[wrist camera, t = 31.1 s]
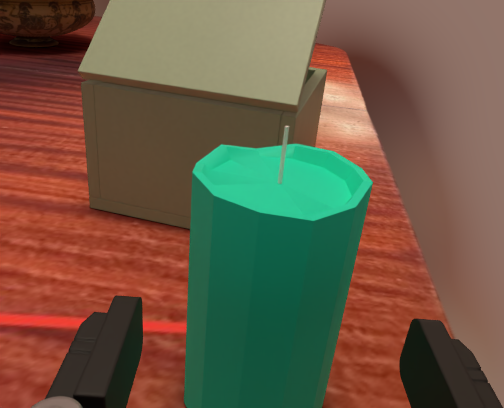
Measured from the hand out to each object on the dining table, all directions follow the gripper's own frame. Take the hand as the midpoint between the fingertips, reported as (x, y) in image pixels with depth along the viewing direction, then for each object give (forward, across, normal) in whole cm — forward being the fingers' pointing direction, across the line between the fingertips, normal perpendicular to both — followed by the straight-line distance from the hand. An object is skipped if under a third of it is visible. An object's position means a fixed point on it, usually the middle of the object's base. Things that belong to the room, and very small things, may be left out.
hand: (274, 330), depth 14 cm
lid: (+24, +3, -8) cm, 25 cm away
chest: (+25, +3, +7) cm, 26 cm away
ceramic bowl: (+78, +40, +7) cm, 88 cm away
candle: (+4, 0, +7) cm, 8 cm away
